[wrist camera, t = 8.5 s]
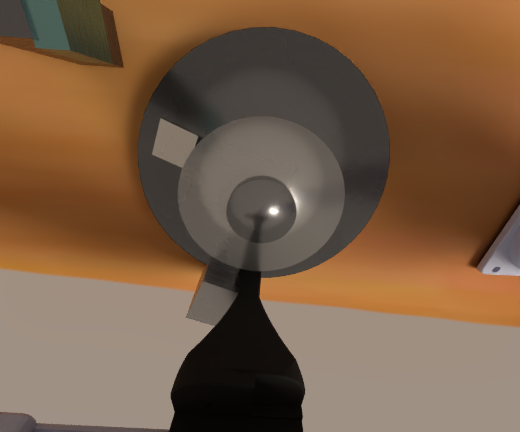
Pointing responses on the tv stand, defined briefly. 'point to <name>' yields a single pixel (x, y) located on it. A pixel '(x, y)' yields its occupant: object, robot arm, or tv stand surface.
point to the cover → (261, 193)
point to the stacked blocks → (62, 30)
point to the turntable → (271, 104)
